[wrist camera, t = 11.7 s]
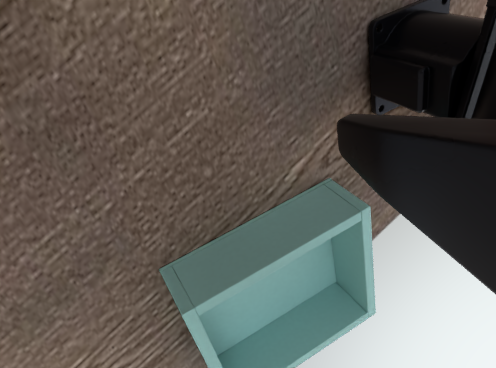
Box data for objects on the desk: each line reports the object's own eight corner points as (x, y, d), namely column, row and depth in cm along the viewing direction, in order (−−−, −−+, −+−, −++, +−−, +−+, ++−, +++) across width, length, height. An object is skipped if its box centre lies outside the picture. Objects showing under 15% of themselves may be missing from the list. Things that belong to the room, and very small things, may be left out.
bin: (329, 177, 30) (370, 206, 26) (342, 280, 36) (376, 313, 33) (158, 269, 26) (181, 315, 23) (207, 364, 33) (230, 411, 29)
